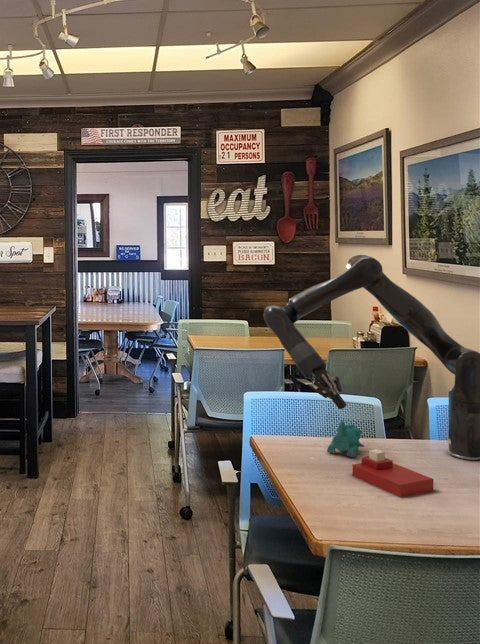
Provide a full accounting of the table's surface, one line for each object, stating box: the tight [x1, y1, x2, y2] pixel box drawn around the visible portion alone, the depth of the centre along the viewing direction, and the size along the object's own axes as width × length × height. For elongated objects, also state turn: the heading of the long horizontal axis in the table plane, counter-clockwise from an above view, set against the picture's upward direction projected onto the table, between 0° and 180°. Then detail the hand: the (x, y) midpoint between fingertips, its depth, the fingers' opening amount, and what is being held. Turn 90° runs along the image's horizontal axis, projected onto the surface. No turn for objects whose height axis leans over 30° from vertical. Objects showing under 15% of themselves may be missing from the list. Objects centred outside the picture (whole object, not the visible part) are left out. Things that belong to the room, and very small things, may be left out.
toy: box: [326, 420, 365, 459], centre depth 193 cm, size 10×12×15 cm
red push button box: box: [351, 455, 434, 498], centre depth 167 cm, size 12×16×5 cm
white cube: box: [368, 448, 386, 462], centre depth 171 cm, size 3×3×3 cm
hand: (343, 407), depth 180 cm, fingers closed
